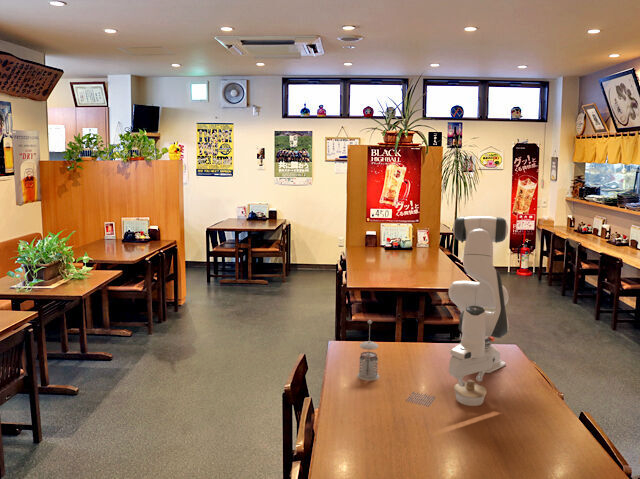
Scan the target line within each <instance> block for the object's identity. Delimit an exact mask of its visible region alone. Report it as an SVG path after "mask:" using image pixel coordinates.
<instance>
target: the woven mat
mask: <svg viewBox="0 0 640 479" xmlns="http://www.w3.org/2000/svg"><path fill="white" fill-rule="evenodd" d="M435 399H436V397H435V396H434V395H433V396H431V395H427V394H423V393H421V394H420V393H417V392H415V391H413V392H412V393H411V394H409V396H408V398H406V402H407V403H411V404H416V405H420V406H425V407H430V405H431V404H432V403H433V402H434V400H435Z"/></svg>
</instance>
